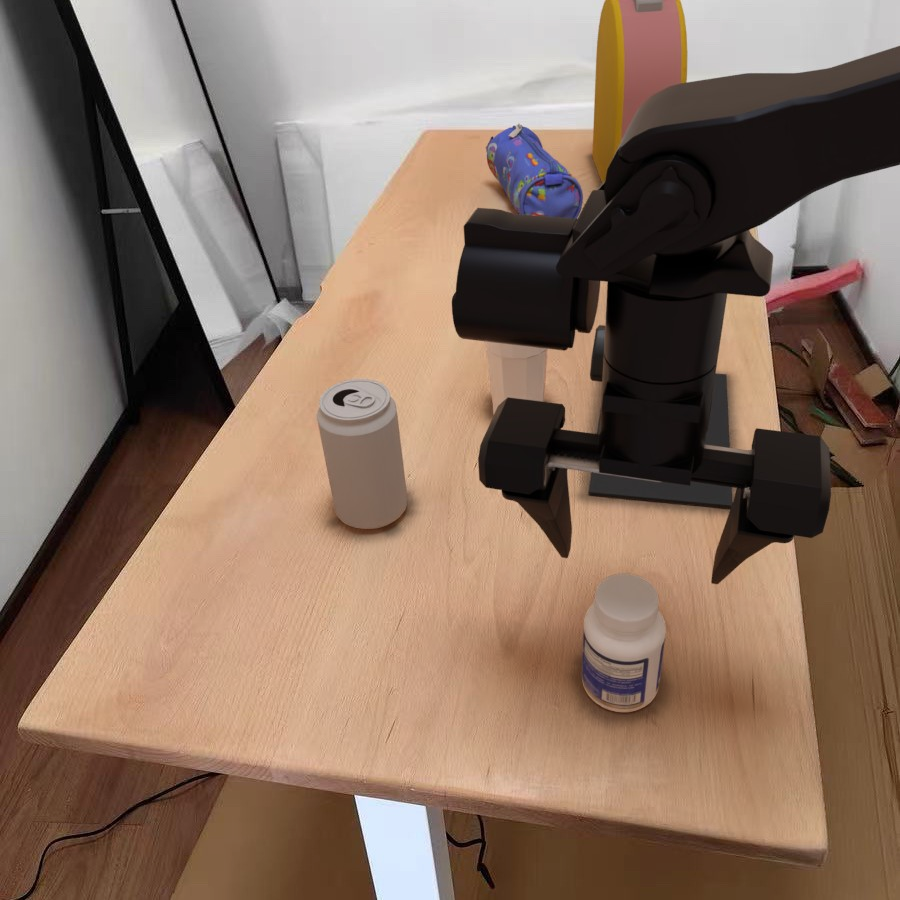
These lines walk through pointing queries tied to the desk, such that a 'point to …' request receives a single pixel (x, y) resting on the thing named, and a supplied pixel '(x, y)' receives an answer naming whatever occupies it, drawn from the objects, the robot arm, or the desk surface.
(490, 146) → the pencil case
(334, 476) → the beverage can
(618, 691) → the pill bottle
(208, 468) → the desk surface
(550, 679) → the desk surface
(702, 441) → the robot arm
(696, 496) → the mat
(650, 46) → the lunch box
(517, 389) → the cup
